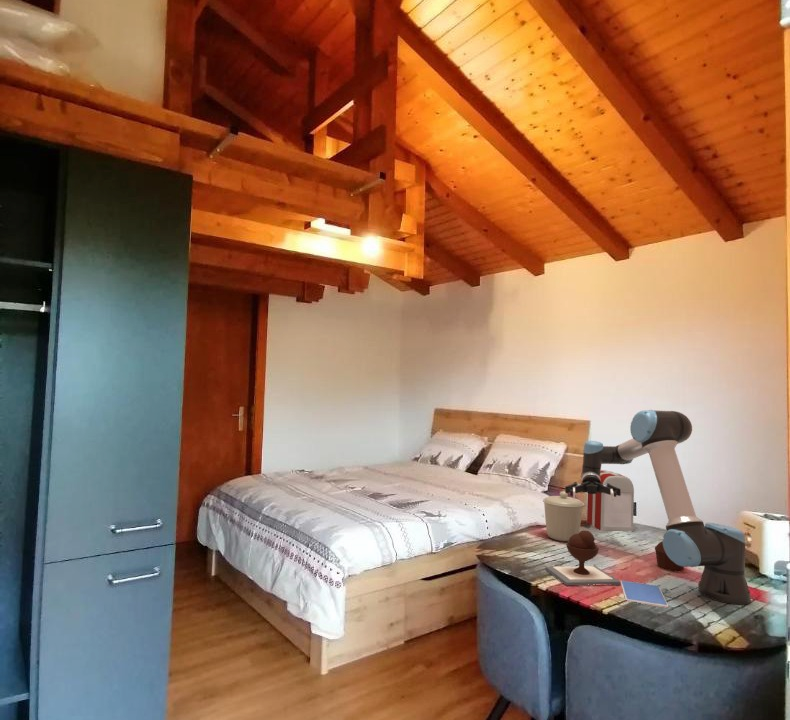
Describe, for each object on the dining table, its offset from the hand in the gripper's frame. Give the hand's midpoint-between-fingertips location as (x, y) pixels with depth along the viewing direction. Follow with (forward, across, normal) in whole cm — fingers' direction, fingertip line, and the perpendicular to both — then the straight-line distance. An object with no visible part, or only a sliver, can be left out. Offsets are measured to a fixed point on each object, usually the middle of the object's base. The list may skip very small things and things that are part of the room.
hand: (593, 496), depth 203 cm
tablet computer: (+20, -14, -28) cm, 37 cm away
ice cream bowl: (+12, +5, -25) cm, 28 cm away
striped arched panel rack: (-73, -9, -34) cm, 81 cm away
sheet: (+12, +5, -25) cm, 28 cm away
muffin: (-15, -28, -31) cm, 44 cm away
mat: (+12, +5, -26) cm, 29 cm away
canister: (-39, +13, -30) cm, 51 cm away
